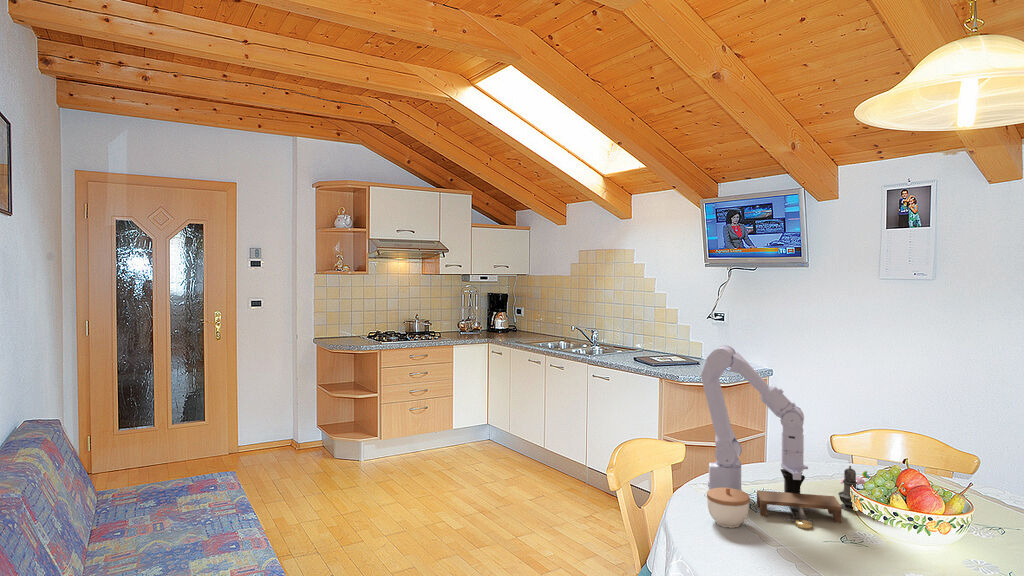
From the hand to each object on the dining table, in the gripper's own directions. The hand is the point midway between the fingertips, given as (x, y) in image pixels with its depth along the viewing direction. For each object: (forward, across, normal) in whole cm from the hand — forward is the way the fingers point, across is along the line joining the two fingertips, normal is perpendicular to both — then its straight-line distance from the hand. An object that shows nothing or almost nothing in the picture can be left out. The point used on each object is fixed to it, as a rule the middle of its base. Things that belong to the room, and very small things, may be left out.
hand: (792, 496), depth 177 cm
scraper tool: (+2, -7, 0) cm, 7 cm away
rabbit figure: (+2, +17, -22) cm, 28 cm away
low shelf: (+2, -8, 0) cm, 8 cm away
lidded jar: (+2, -19, +19) cm, 27 cm away
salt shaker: (+2, 0, -15) cm, 15 cm away
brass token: (+2, -16, 0) cm, 16 cm away
